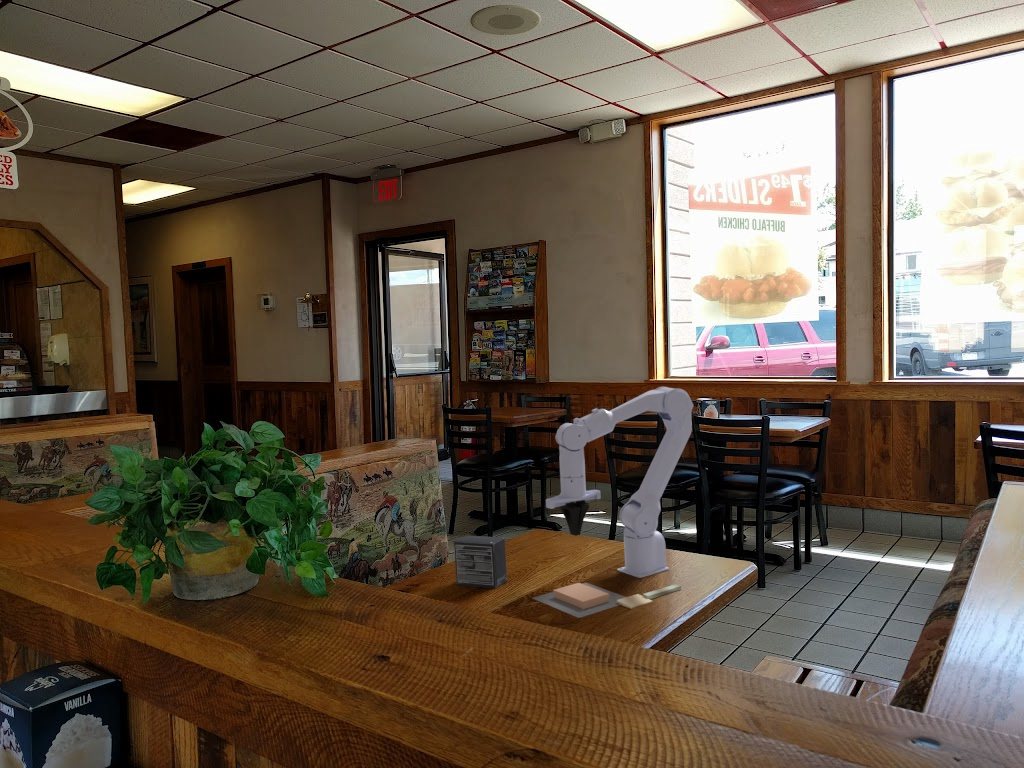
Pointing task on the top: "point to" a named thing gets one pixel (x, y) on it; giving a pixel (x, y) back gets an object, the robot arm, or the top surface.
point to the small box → (480, 561)
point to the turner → (646, 597)
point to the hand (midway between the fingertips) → (575, 534)
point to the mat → (578, 611)
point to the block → (581, 595)
